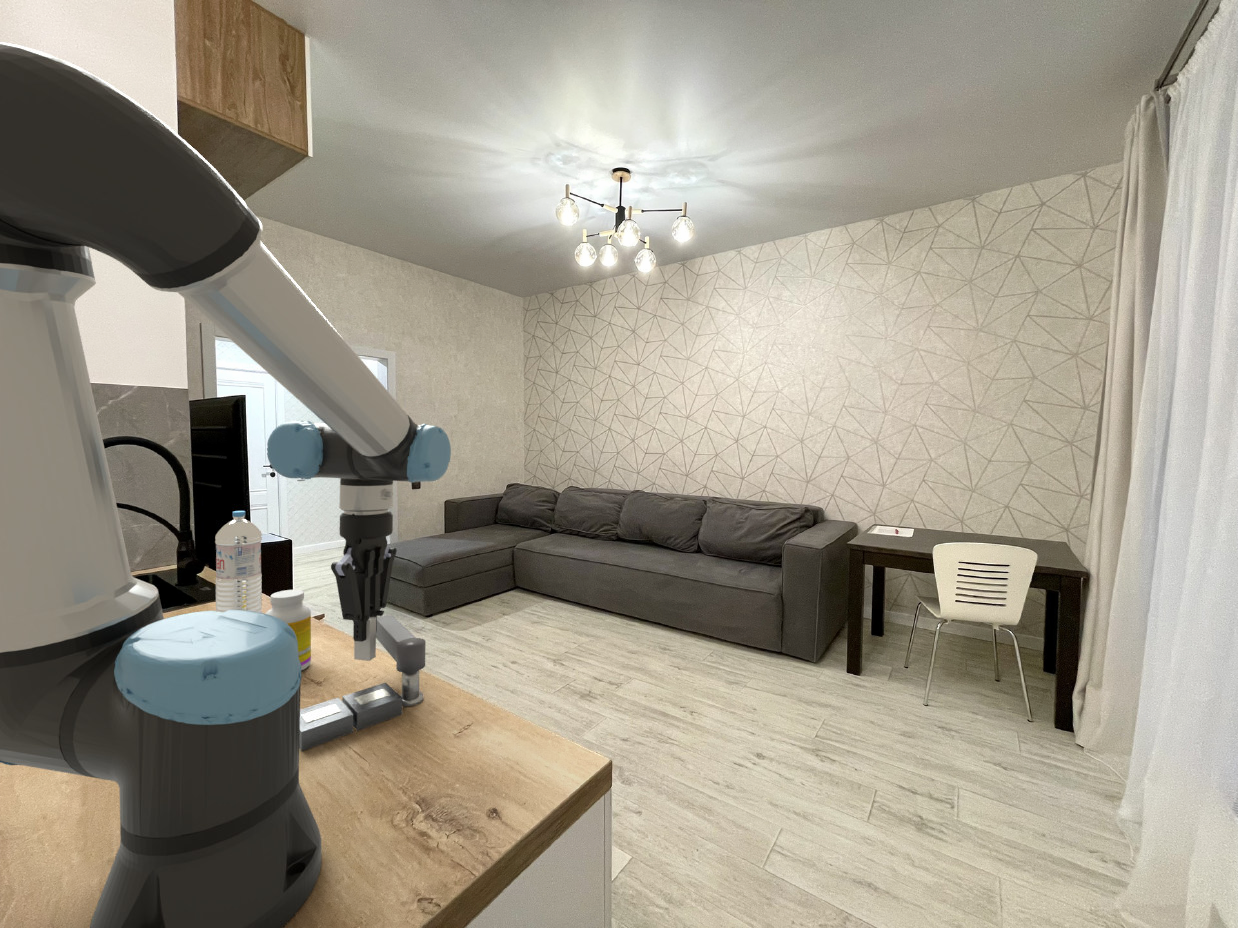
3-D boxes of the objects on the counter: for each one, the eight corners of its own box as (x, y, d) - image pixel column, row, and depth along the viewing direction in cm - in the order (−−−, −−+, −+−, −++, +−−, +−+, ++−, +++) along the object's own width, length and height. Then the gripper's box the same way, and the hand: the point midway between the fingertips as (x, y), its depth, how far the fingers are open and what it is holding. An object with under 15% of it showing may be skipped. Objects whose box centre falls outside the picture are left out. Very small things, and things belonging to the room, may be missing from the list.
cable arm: (370, 637, 86) (370, 617, 85) (395, 632, 88) (395, 612, 88) (401, 675, 73) (401, 650, 72) (429, 667, 75) (429, 644, 75)
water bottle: (222, 640, 95) (221, 509, 94) (265, 635, 98) (265, 508, 97) (210, 654, 89) (209, 514, 88) (257, 649, 92) (257, 513, 91)
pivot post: (403, 709, 73) (403, 677, 73) (393, 700, 76) (393, 668, 75) (427, 700, 76) (428, 669, 75) (417, 692, 78) (417, 661, 78)
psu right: (357, 731, 67) (357, 712, 67) (342, 713, 72) (342, 695, 71) (402, 714, 72) (402, 696, 72) (385, 698, 76) (385, 681, 76)
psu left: (301, 751, 63) (301, 731, 63) (289, 731, 67) (289, 712, 67) (353, 732, 67) (353, 713, 67) (338, 714, 71) (338, 696, 71)
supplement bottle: (320, 661, 88) (320, 588, 87) (291, 679, 81) (291, 600, 81) (284, 658, 88) (284, 586, 88) (253, 676, 82) (253, 598, 81)
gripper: (361, 517, 72) (359, 679, 73) (412, 507, 85) (409, 644, 86) (314, 515, 74) (313, 673, 74) (371, 505, 86) (369, 640, 87)
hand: (364, 658), depth 80 cm, fingers closed
